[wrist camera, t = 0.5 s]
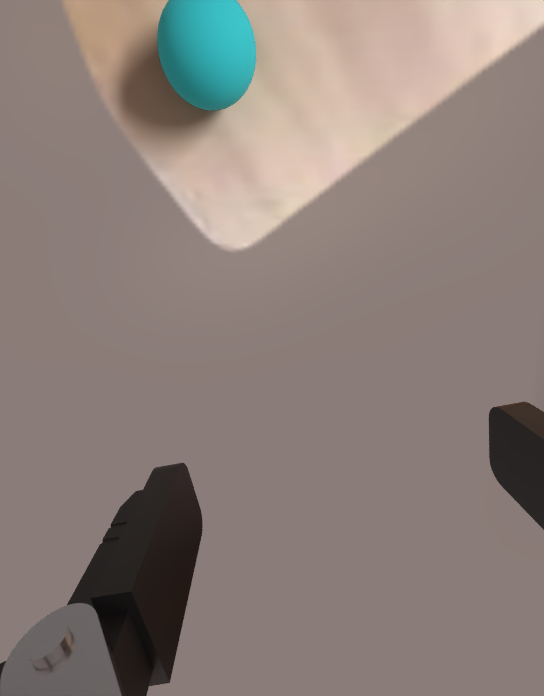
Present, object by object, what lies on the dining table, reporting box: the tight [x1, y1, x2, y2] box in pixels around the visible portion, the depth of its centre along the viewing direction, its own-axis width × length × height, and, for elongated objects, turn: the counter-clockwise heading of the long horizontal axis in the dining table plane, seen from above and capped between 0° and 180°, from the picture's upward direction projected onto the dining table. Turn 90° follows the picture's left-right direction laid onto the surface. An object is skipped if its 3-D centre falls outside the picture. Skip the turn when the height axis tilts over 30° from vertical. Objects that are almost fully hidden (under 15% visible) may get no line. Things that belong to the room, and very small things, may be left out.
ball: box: [157, 0, 256, 111], centre depth 22 cm, size 6×6×6 cm
